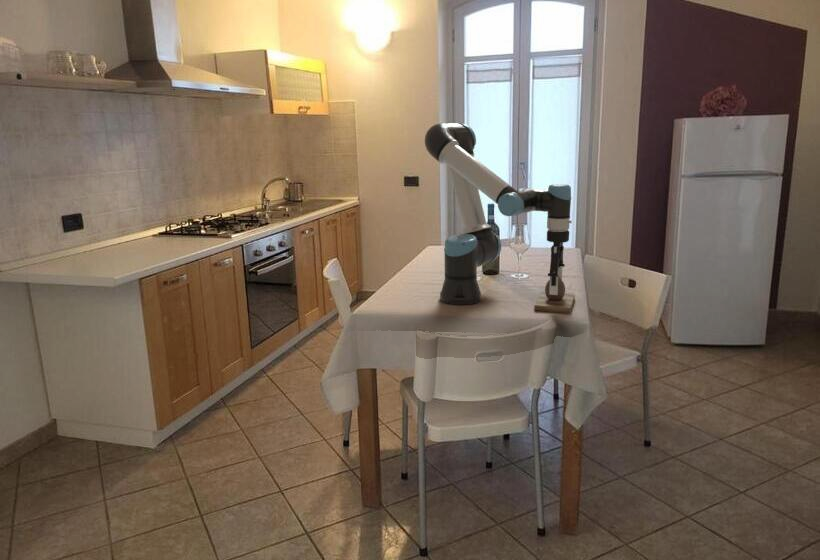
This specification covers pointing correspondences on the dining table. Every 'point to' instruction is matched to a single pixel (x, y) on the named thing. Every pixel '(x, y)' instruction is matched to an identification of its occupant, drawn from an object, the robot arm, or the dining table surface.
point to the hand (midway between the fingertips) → (555, 289)
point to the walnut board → (555, 303)
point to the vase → (560, 291)
